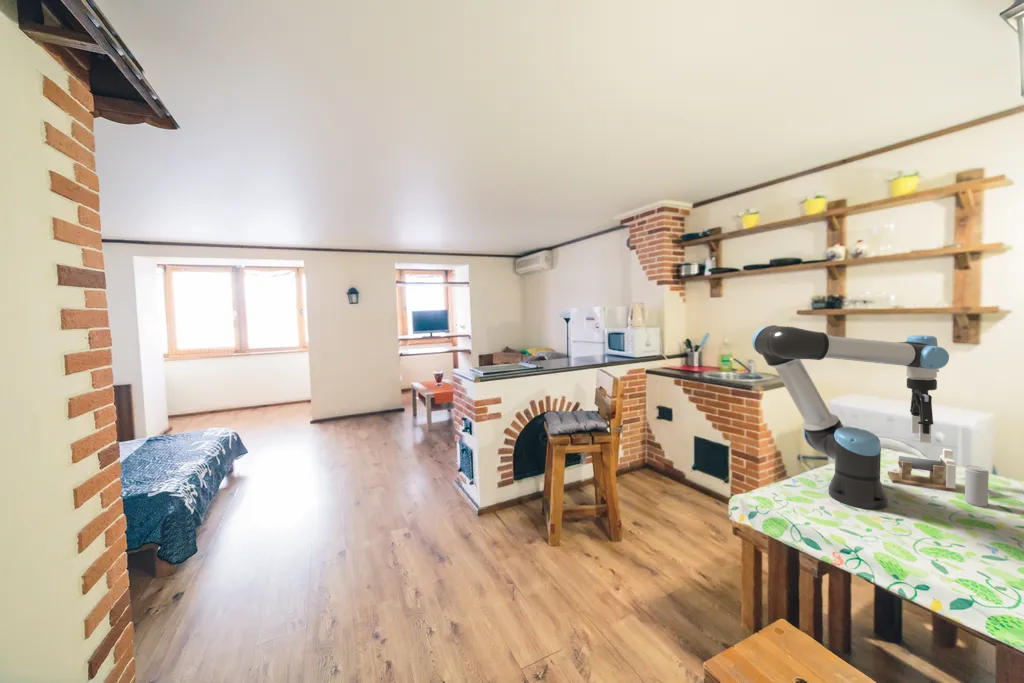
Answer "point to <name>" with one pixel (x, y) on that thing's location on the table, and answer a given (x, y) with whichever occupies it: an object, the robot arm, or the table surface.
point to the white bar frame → (949, 468)
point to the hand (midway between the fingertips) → (920, 437)
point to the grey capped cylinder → (920, 463)
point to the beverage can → (976, 485)
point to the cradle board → (920, 478)
